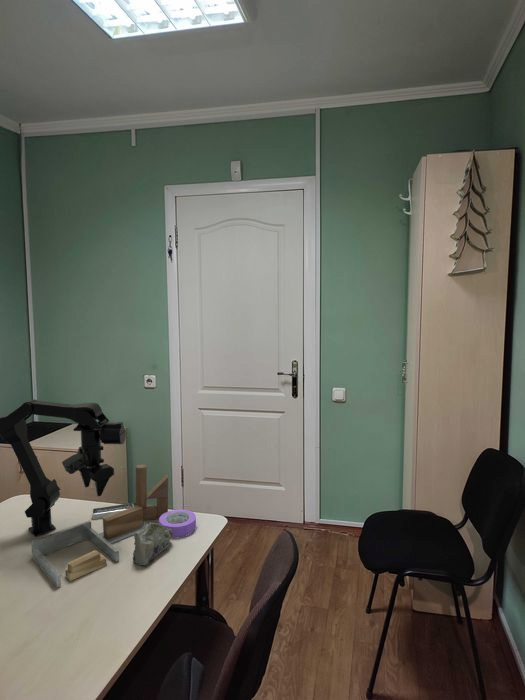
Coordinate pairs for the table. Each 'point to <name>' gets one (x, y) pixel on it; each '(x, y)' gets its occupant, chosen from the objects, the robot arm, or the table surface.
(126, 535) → the rubber mat
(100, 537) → the frame
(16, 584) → the table surface
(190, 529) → the masking tape
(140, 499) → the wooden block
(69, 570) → the offcut stack
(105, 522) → the walnut panel
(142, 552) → the mineral rock
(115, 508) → the multiport hub
